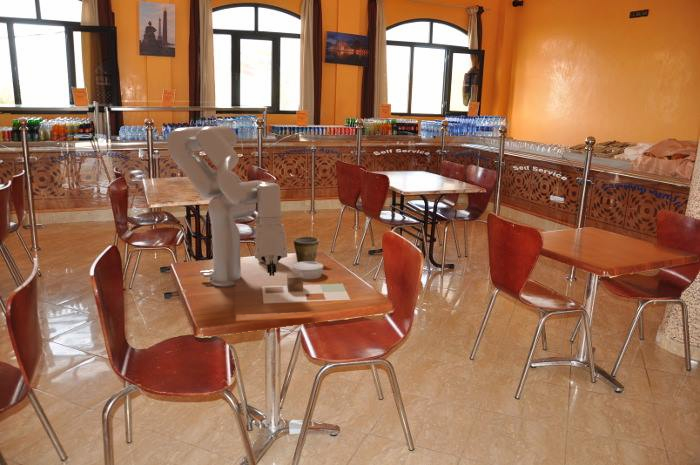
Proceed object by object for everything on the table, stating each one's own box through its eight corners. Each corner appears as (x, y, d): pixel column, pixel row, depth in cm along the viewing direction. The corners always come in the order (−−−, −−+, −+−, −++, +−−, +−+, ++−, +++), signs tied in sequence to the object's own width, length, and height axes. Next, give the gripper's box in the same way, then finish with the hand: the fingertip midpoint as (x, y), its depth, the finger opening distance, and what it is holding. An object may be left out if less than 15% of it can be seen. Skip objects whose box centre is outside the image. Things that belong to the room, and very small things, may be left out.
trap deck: (263, 307, 180) (263, 303, 179) (262, 290, 195) (262, 286, 194) (350, 304, 184) (350, 299, 184) (342, 287, 200) (342, 283, 199)
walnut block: (288, 291, 190) (288, 277, 188) (287, 287, 194) (287, 273, 193) (303, 291, 191) (303, 277, 189) (301, 286, 195) (301, 272, 194)
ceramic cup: (321, 266, 223) (321, 242, 220) (296, 268, 220) (296, 243, 218) (313, 257, 235) (313, 234, 233) (289, 258, 232) (289, 235, 230)
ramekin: (325, 275, 213) (325, 261, 212) (320, 284, 202) (320, 270, 201) (295, 273, 214) (295, 260, 213) (289, 283, 203) (289, 269, 202)
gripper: (246, 224, 180) (249, 279, 184) (293, 222, 183) (295, 276, 187) (246, 219, 187) (249, 272, 191) (291, 217, 190) (293, 270, 194)
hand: (271, 274), depth 189 cm, fingers closed
